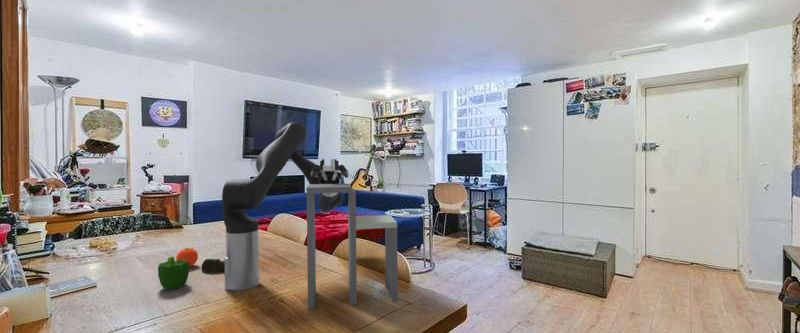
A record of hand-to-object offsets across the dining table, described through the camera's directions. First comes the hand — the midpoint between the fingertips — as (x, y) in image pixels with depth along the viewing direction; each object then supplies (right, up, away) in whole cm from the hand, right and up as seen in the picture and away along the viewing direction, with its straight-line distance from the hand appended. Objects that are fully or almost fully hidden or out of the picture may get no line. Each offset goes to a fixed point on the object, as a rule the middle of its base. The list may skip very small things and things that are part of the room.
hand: (329, 161), depth 117 cm
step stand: (+10, -39, -18) cm, 44 cm away
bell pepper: (-46, -39, -9) cm, 62 cm away
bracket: (+1, -3, -4) cm, 5 cm away
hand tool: (-37, -39, +5) cm, 54 cm away
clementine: (-55, -39, +11) cm, 68 cm away
